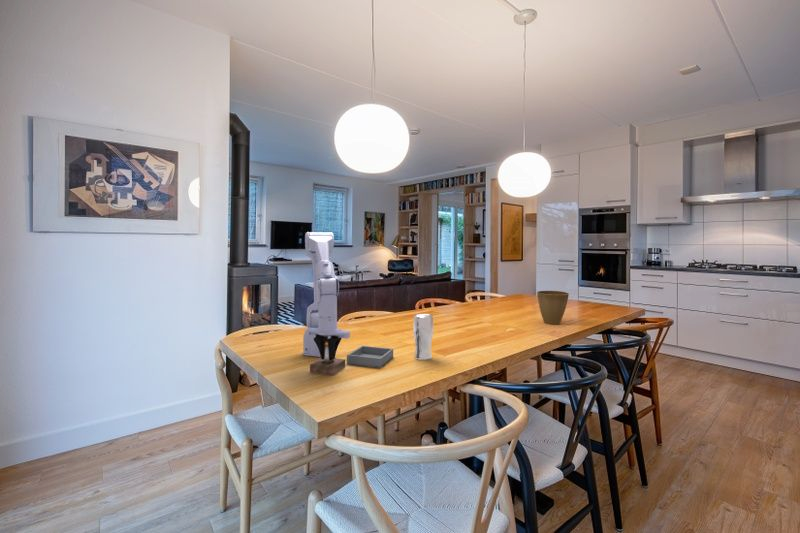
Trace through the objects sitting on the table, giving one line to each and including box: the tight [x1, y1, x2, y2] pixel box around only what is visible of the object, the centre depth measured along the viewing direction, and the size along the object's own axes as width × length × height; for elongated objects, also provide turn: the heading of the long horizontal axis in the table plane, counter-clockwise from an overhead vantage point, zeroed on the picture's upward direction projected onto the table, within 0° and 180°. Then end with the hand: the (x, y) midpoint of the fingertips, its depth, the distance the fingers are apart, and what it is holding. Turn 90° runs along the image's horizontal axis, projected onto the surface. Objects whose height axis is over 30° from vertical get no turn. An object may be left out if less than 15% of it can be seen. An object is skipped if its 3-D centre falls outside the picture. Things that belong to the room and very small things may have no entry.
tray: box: [346, 345, 394, 369], centre depth 123 cm, size 12×12×3 cm
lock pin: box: [324, 341, 332, 364], centre depth 113 cm, size 2×2×9 cm
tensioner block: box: [309, 357, 346, 376], centre depth 114 cm, size 8×8×2 cm
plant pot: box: [536, 290, 570, 326], centre depth 184 cm, size 15×15×16 cm
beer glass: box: [412, 313, 434, 361], centre depth 126 cm, size 7×7×15 cm
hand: (327, 358), depth 114 cm, fingers closed on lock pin, 2 cm apart
